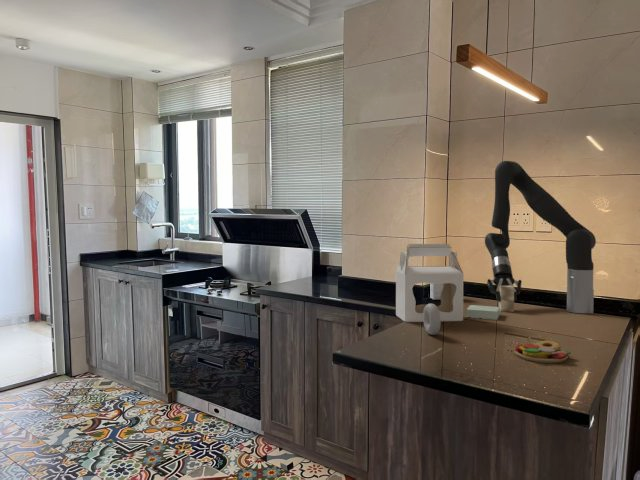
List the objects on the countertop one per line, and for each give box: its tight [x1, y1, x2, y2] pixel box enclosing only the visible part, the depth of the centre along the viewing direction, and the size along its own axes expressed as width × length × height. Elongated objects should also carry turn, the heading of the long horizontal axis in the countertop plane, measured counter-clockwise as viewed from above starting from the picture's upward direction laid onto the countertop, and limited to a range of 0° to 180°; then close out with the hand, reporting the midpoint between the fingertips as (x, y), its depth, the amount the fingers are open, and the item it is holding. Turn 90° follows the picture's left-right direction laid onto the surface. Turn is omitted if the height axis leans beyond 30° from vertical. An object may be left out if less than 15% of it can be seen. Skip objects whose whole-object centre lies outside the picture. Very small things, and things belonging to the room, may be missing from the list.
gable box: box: [395, 243, 464, 323], centre depth 178 cm, size 22×13×28 cm, turn 95°
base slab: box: [465, 304, 501, 321], centre depth 183 cm, size 11×11×4 cm
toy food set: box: [514, 340, 571, 364], centre depth 126 cm, size 13×13×3 cm
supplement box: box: [429, 283, 444, 301], centre depth 227 cm, size 9×9×15 cm
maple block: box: [498, 285, 515, 313], centre depth 195 cm, size 5×5×10 cm
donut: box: [422, 303, 442, 336], centre depth 151 cm, size 10×3×10 cm, turn 5°
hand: (507, 300), depth 193 cm, fingers closed on maple block, 5 cm apart
